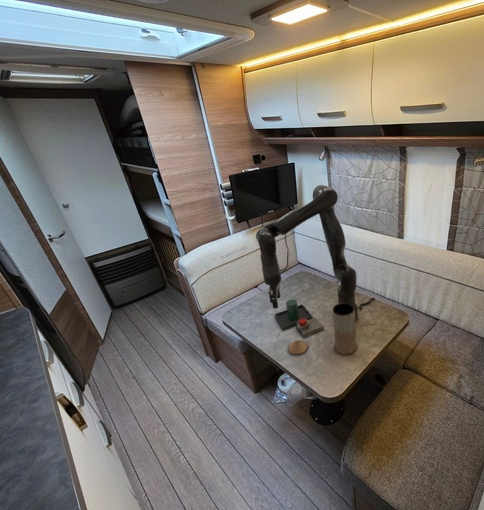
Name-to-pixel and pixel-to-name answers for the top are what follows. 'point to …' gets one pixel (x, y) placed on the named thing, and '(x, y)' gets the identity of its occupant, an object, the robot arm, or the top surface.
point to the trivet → (298, 347)
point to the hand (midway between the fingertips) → (277, 302)
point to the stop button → (302, 321)
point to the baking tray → (287, 323)
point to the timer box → (310, 327)
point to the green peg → (292, 309)
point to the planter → (344, 327)
